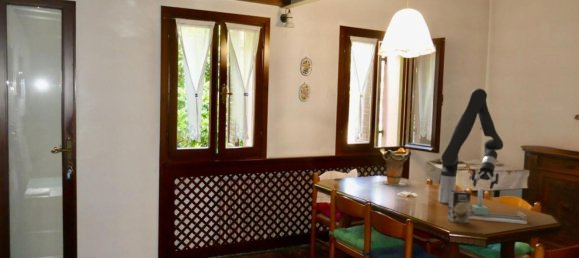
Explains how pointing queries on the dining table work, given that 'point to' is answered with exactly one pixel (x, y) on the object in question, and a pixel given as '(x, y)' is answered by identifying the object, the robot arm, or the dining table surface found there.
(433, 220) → the dining table surface
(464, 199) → the coffee box
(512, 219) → the rail track
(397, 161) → the decorative vase
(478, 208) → the carriage
